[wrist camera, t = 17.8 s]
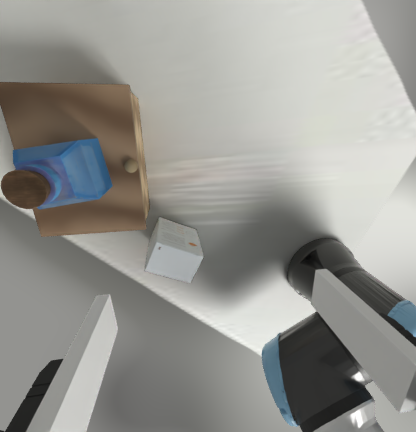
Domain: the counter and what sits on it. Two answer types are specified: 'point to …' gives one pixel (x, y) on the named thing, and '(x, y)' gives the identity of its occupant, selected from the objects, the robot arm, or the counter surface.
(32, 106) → the lid
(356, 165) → the counter surface
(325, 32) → the counter surface
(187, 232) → the small box
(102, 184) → the perfume bottle
